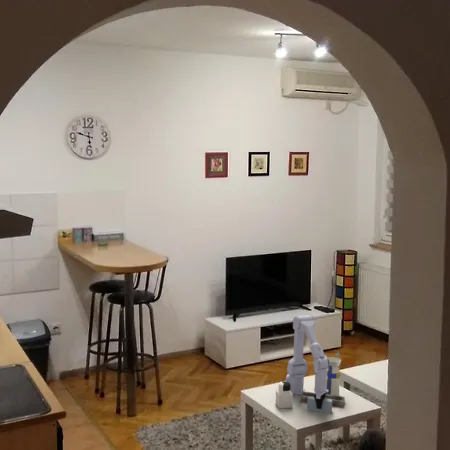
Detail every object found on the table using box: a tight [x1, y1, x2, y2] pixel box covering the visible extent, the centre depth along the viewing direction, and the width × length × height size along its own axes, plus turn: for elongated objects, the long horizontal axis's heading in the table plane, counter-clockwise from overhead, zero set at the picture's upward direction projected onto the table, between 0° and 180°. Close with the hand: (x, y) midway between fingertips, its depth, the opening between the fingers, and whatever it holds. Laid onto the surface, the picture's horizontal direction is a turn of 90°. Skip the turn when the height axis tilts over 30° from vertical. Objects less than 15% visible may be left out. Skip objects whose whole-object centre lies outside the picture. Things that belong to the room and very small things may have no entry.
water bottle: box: [326, 351, 342, 396], centre depth 324 cm, size 8×9×25 cm
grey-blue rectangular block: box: [306, 396, 333, 414], centre depth 304 cm, size 12×3×6 cm, turn 74°
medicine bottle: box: [275, 380, 294, 409], centre depth 309 cm, size 7×7×12 cm
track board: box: [299, 391, 346, 409], centre depth 315 cm, size 22×8×3 cm, turn 74°
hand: (319, 407), depth 304 cm, fingers closed on grey-blue rectangular block, 3 cm apart
